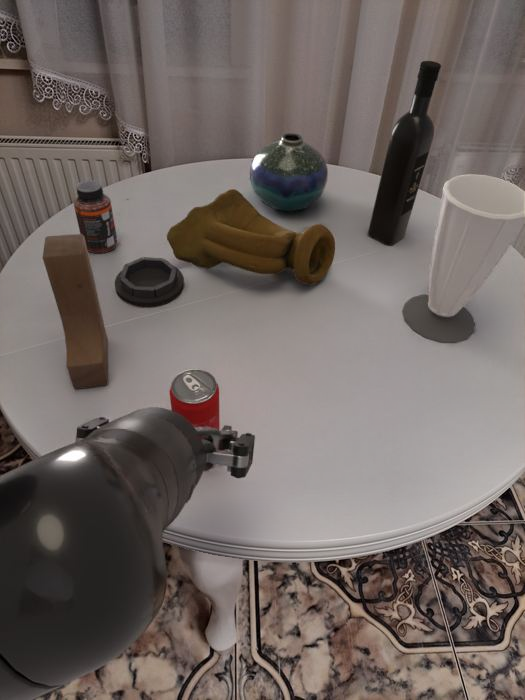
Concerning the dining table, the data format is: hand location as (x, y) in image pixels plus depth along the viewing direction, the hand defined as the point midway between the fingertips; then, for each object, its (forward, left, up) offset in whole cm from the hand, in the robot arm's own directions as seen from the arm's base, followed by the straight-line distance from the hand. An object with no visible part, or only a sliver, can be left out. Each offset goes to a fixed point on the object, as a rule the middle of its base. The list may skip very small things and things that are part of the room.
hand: (184, 431), depth 50 cm
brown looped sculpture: (+34, +26, -11) cm, 45 cm away
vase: (+55, +38, -11) cm, 68 cm away
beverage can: (+4, +3, -11) cm, 13 cm away
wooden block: (+2, +24, -11) cm, 27 cm away
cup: (+48, -3, -11) cm, 49 cm away
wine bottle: (+61, +17, -11) cm, 64 cm away
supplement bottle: (+18, +48, -11) cm, 53 cm away
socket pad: (+18, +33, -11) cm, 40 cm away
